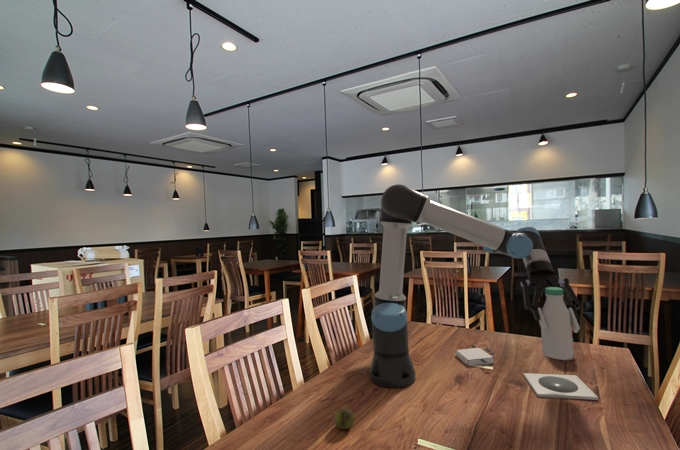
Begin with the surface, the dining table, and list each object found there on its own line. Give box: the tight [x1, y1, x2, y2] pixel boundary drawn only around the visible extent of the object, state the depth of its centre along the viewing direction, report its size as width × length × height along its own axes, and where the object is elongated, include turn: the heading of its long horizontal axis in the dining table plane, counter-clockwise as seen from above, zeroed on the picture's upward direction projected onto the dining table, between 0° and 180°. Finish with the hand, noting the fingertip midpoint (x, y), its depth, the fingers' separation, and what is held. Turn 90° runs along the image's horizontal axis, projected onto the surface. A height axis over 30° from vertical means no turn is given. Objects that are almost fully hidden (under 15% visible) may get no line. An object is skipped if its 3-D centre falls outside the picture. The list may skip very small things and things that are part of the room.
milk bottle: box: [540, 287, 574, 361], centre depth 100 cm, size 8×8×20 cm
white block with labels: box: [455, 344, 495, 367], centre depth 123 cm, size 20×12×3 cm, turn 6°
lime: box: [334, 408, 355, 430], centre depth 86 cm, size 4×5×5 cm
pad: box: [523, 372, 599, 401], centre depth 101 cm, size 15×13×1 cm
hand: (560, 330), depth 97 cm, fingers closed on milk bottle, 8 cm apart
